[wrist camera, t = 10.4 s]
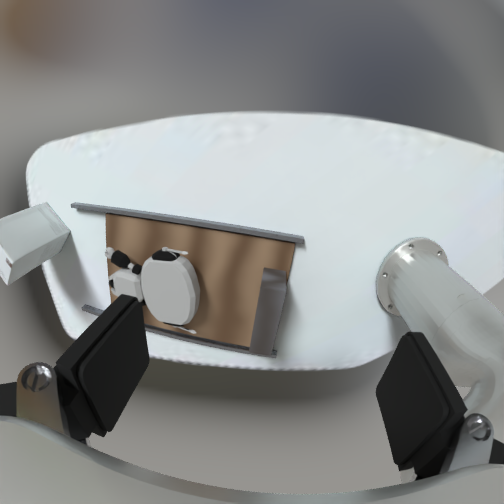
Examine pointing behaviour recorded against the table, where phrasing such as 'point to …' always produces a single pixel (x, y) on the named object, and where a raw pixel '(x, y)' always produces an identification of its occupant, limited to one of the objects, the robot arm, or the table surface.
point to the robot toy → (159, 284)
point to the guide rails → (197, 223)
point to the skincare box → (29, 240)
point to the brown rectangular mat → (215, 276)
